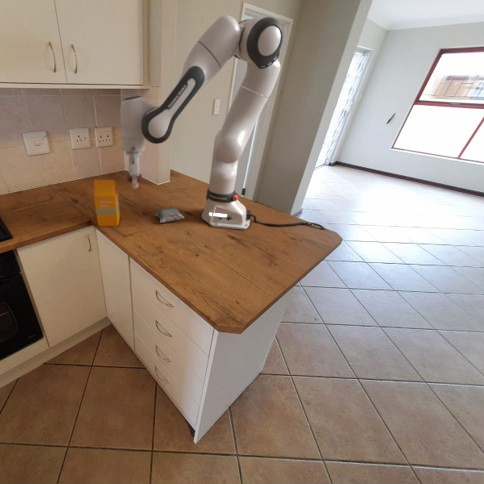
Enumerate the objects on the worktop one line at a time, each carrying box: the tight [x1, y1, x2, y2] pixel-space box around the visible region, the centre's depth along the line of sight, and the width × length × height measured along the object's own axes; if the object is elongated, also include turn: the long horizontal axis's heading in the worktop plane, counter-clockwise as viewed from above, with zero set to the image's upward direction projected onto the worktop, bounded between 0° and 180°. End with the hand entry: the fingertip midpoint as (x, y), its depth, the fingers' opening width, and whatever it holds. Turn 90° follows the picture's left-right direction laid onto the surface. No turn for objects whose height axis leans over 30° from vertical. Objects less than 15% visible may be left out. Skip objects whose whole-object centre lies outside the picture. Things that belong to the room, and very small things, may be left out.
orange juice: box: [93, 178, 121, 227], centre depth 108 cm, size 8×9×20 cm
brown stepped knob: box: [126, 172, 143, 189], centre depth 103 cm, size 6×6×6 cm
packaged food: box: [154, 207, 186, 224], centre depth 115 cm, size 9×12×5 cm
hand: (134, 179), depth 103 cm, fingers closed on brown stepped knob, 6 cm apart
